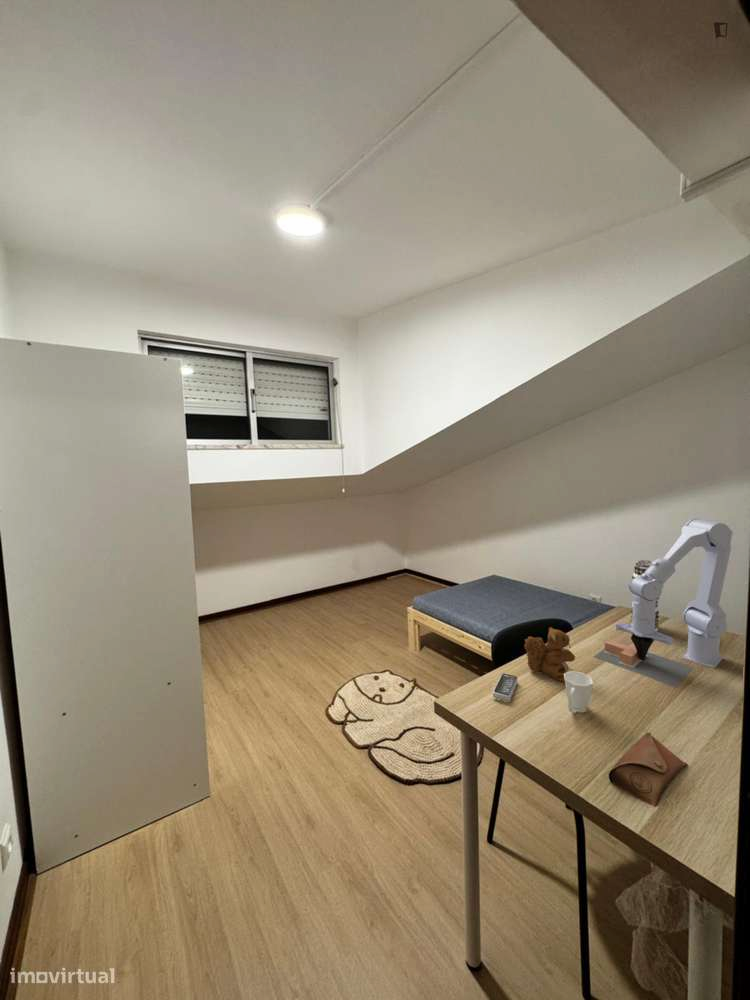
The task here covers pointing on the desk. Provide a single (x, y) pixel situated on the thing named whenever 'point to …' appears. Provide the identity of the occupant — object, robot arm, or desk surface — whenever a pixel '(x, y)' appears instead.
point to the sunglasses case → (646, 770)
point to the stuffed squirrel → (549, 654)
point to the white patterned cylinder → (638, 571)
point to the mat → (652, 667)
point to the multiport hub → (505, 687)
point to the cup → (578, 691)
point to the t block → (622, 652)
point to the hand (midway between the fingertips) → (642, 658)
